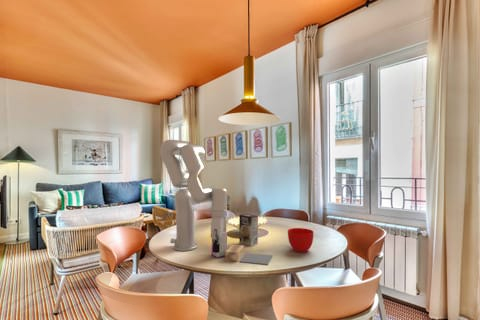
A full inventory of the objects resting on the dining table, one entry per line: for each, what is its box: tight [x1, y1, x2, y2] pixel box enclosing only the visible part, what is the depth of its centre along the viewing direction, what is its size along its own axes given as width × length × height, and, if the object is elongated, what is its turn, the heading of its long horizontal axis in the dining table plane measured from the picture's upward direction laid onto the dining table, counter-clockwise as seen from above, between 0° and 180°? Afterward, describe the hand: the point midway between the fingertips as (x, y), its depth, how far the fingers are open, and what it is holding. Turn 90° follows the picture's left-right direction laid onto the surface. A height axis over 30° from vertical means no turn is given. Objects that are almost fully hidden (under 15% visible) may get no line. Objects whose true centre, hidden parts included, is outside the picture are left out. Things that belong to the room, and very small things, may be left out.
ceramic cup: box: [287, 227, 314, 253], centre depth 135 cm, size 13×17×10 cm
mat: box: [239, 252, 273, 266], centre depth 121 cm, size 13×12×1 cm
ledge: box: [224, 244, 245, 262], centre depth 124 cm, size 6×11×4 cm, turn 164°
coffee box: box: [238, 213, 259, 247], centre depth 146 cm, size 9×6×16 cm
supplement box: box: [211, 231, 228, 259], centre depth 126 cm, size 6×6×12 cm
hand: (219, 249), depth 126 cm, fingers closed on supplement box, 8 cm apart
